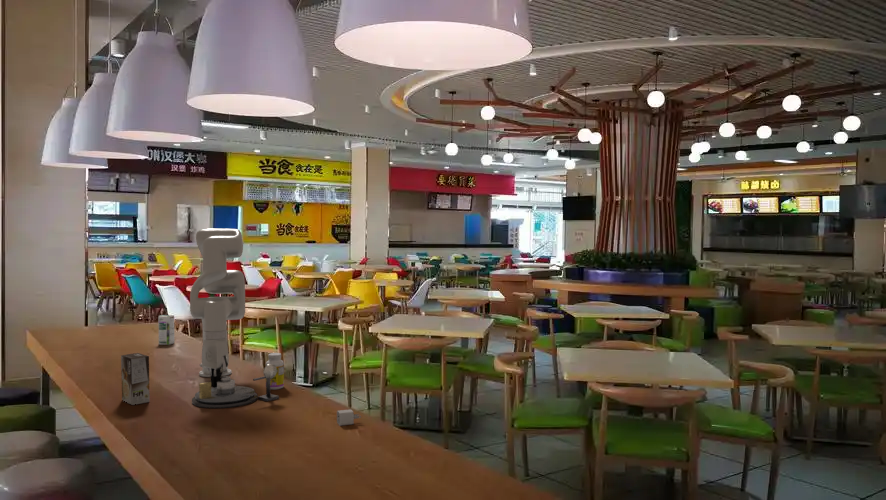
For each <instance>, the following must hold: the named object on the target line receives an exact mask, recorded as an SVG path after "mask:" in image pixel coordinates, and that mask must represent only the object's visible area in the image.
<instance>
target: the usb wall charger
mask: <svg viewBox="0 0 886 500" xmlns="http://www.w3.org/2000/svg"><path fill="white" fill-rule="evenodd" d="M361 418H362V416H361V415H360V413H356V414H355V413H354V411H353V410H352V409H341V410H340V409H339V410H336V423H337V424H338V426H341V427H343V426H349V425H354V424H355V423H354V421H355V420H356V419H357V420H358V419H361Z"/></svg>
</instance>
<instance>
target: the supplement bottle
mask: <svg viewBox="0 0 886 500" xmlns="http://www.w3.org/2000/svg"><path fill="white" fill-rule="evenodd" d="M267 357H268V360H267V361H266V362H265V366H266V365H268V364H273V365H275V366H276V369H277V372H276V375H275V376H274V377H273V378H271V379H270V391H271V390H281V389H284V387H285V363H284V360H282V353H281V352H271V353H268V356H267Z"/></svg>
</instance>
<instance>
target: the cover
mask: <svg viewBox="0 0 886 500" xmlns="http://www.w3.org/2000/svg"><path fill="white" fill-rule="evenodd" d="M235 386H236V380H235V379H232V378H231V376H229V375H226V376H221V380H219V381H217V394H220V395H228V394H233V393H235Z"/></svg>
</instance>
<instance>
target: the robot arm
mask: <svg viewBox="0 0 886 500" xmlns="http://www.w3.org/2000/svg"><path fill="white" fill-rule="evenodd" d="M195 241H196V245H197V248H198V251H199V253H200V255H201V256H202V273H201V274H200V275H199V276H198V277H197V279H196V280H195V281H194V282H193V284H192V286H191V289H190V294H189V310H190V311H189V313H190V315H191V317H192V318H193V319H198V320H199V319H200V320H201V324H202V347H201V363H200V364H199V367H200V368H201V369H202V370H200V371H199V373H198V376H200V377H203V378H210V382H211V388H215V387H217V381H219V380H221V377H223V376H229V375H232V372H233V371H232V369H230V368H229V367H228V366H229V359H230V358H229V355H230V354H229V344H228V330H227V329H228V328H227V327H228V323H227V322H228V321H234V320H236V321H237V320H241V319H243V318H245V316H246V315H245V313H246V282H245V275H244V273H243V271H241V270H238V269H237V270H236V269H227V267H228V266H227V259H230V258H231V259H237V258H241V257H242V255H243V251H244V241H243V234H242V231H241V230H240V229H237V228H205V229H204V228H203V229H199V230H198V231H196V233H195ZM203 289H204V291H205V292H206V293H208V294H211V295H212V294H213V295H215V294H221V295H222V294H232V295H233V296H209V297H199V293H200V291H201V290H203Z"/></svg>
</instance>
